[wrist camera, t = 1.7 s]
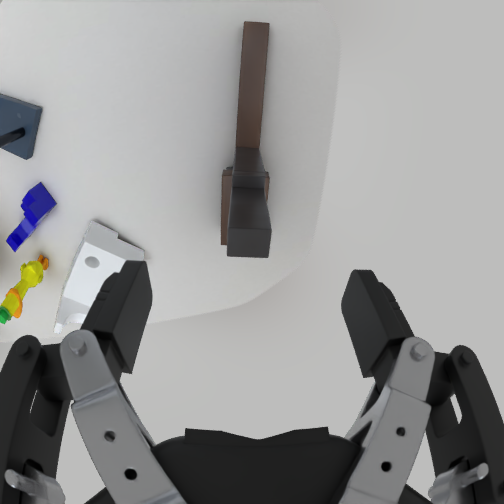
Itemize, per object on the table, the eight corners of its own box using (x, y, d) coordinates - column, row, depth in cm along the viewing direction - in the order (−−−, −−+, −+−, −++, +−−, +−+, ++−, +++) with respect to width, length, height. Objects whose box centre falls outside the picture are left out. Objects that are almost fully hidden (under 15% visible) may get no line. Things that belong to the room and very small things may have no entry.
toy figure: (50, 282, 33) (13, 343, 23) (32, 271, 32) (-7, 328, 22) (55, 252, 30) (9, 316, 20) (36, 239, 29) (-13, 299, 19)
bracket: (106, 302, 36) (102, 347, 31) (63, 285, 32) (53, 331, 27) (144, 245, 31) (141, 296, 26) (91, 220, 27) (76, 270, 22)
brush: (279, 28, 18) (322, -31, 6) (260, 231, 29) (272, 345, 17) (232, 25, 18) (218, -41, 6) (222, 229, 29) (210, 343, 17)
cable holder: (40, 182, 25) (21, 196, 21) (56, 203, 26) (38, 220, 23) (16, 216, 27) (-1, 232, 23) (30, 235, 28) (15, 252, 25)
